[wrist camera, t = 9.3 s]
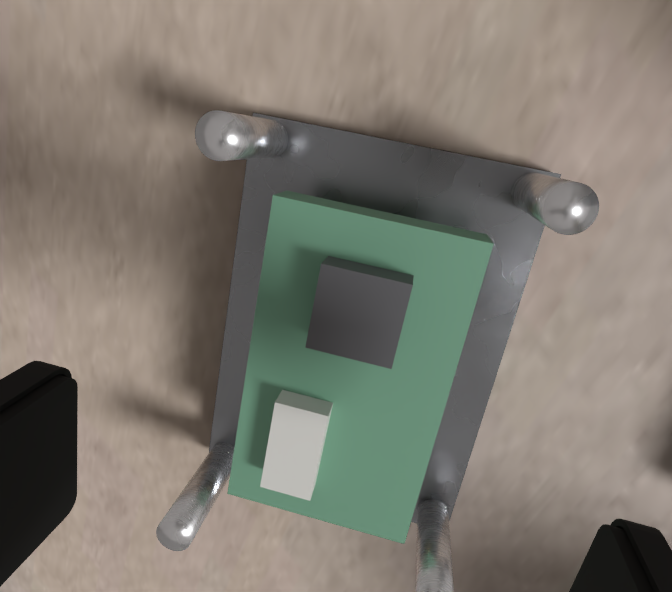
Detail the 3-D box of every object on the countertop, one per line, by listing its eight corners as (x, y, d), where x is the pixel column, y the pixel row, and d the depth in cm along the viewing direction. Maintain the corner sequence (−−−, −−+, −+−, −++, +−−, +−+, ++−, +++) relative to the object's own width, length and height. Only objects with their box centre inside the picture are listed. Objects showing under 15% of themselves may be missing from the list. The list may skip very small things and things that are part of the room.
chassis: (262, 114, 18) (194, 101, 12) (553, 172, 17) (612, 184, 11) (216, 451, 22) (151, 546, 17) (444, 513, 21) (451, 635, 16)
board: (287, 190, 15) (261, 198, 13) (487, 234, 14) (499, 251, 12) (242, 466, 18) (215, 514, 16) (405, 511, 18) (403, 568, 15)
